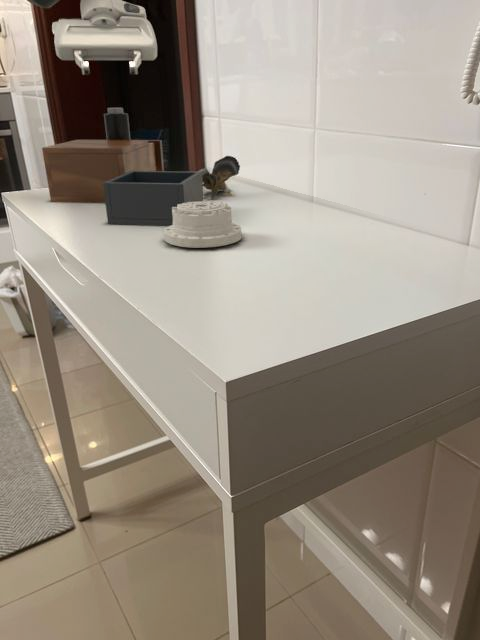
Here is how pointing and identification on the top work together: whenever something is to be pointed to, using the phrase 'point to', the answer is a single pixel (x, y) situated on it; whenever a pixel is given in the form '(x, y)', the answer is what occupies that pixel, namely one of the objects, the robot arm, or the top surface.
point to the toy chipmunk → (220, 175)
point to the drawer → (156, 155)
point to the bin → (150, 196)
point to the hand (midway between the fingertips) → (110, 72)
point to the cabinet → (91, 166)
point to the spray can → (117, 124)
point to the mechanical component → (202, 225)
